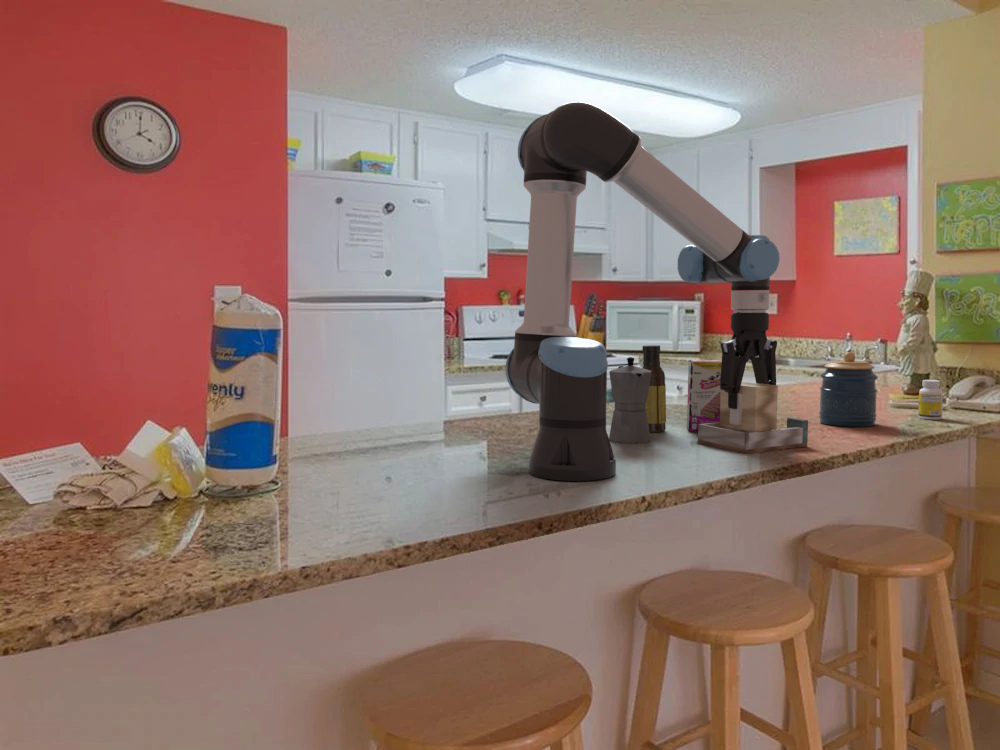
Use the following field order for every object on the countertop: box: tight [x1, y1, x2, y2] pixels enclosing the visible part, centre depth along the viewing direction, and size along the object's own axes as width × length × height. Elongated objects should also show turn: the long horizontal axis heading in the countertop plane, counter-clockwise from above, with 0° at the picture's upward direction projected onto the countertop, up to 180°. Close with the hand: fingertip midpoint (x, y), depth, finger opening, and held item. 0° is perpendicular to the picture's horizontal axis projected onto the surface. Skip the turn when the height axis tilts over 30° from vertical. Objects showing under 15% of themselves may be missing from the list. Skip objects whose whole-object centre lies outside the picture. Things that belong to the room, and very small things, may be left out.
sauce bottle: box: [641, 344, 667, 433], centre depth 189 cm, size 6×6×20 cm
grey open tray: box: [697, 417, 809, 455], centre depth 171 cm, size 17×14×6 cm
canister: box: [818, 351, 879, 428], centre depth 200 cm, size 13×13×18 cm
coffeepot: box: [608, 356, 652, 444], centre depth 178 cm, size 15×9×18 cm, turn 8°
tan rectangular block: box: [720, 381, 779, 432], centre depth 170 cm, size 6×10×9 cm, turn 28°
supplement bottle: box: [918, 379, 944, 421], centre depth 209 cm, size 5×5×10 cm
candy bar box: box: [686, 359, 722, 433], centre depth 189 cm, size 11×5×16 cm, turn 84°
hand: (747, 422), depth 170 cm, fingers closed on tan rectangular block, 6 cm apart
